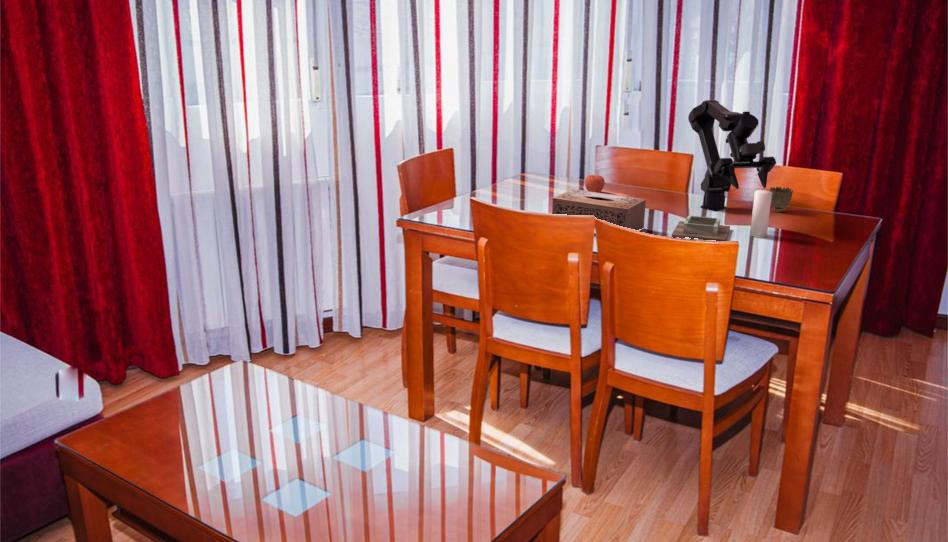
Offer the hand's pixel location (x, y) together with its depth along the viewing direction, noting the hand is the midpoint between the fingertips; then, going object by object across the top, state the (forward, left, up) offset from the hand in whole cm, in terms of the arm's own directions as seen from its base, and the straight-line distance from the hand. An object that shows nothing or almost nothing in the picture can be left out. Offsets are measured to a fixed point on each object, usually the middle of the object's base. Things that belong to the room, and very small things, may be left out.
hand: (751, 187), depth 266 cm
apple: (-64, -4, -14) cm, 65 cm away
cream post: (+7, -4, -13) cm, 16 cm away
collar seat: (-6, -16, -13) cm, 22 cm away
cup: (-6, +27, -14) cm, 31 cm away
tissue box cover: (-31, -37, -14) cm, 50 cm away
